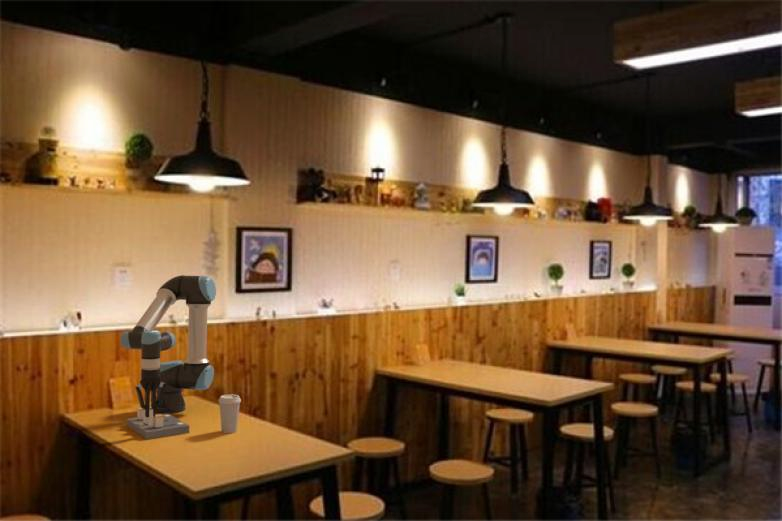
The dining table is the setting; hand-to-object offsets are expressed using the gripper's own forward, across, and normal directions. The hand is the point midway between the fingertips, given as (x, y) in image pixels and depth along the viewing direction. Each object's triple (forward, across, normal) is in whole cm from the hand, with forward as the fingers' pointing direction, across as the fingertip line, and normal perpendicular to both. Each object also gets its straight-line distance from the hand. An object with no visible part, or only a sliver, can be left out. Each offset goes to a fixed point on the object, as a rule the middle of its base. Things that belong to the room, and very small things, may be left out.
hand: (150, 424), depth 287 cm
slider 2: (+1, -3, 0) cm, 4 cm away
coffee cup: (+5, -30, +12) cm, 33 cm away
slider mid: (+1, -2, -8) cm, 8 cm away
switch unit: (+5, -6, -8) cm, 11 cm away
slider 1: (+1, -2, -16) cm, 16 cm away
